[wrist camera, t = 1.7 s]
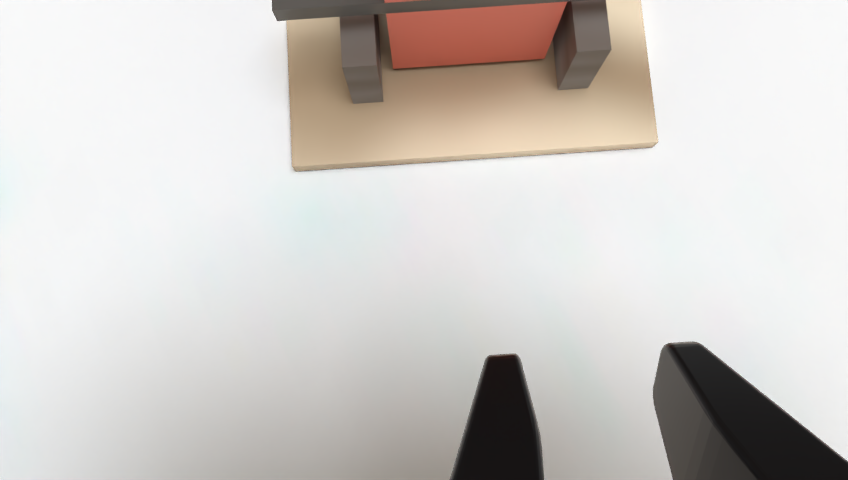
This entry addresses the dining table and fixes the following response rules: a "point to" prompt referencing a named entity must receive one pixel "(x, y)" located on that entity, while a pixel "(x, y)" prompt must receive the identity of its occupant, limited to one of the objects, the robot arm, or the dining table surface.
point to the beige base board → (468, 94)
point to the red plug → (447, 27)
